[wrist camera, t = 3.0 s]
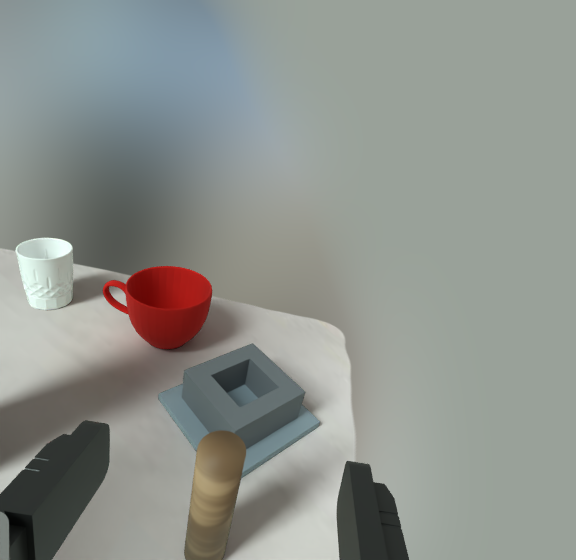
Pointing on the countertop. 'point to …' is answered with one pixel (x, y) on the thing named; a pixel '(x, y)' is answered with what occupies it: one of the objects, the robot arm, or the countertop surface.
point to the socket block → (241, 404)
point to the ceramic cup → (164, 304)
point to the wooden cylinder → (214, 494)
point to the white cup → (46, 272)
